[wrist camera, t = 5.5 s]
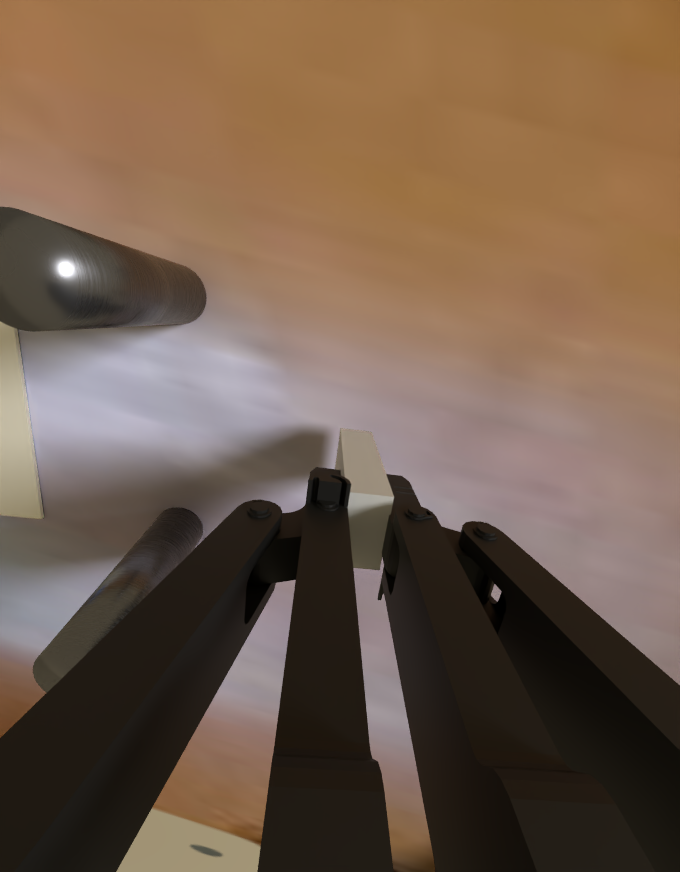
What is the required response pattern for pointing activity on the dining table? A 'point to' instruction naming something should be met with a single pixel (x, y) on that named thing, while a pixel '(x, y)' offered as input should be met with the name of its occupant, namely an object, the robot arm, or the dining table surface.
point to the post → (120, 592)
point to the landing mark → (16, 435)
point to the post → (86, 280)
